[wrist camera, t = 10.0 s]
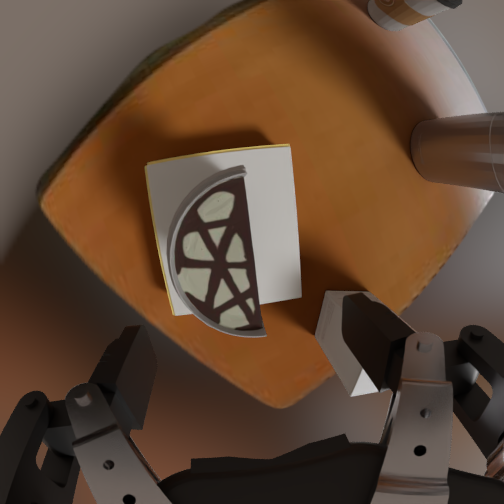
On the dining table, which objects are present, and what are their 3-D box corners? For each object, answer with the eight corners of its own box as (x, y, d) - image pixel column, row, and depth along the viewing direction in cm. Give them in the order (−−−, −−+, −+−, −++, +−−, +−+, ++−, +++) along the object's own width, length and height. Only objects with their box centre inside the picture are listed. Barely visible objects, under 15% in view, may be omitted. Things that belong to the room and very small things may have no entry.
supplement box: (312, 336, 36) (347, 398, 24) (325, 288, 34) (371, 341, 22) (357, 335, 37) (399, 388, 25) (371, 290, 35) (425, 336, 23)
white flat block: (280, 147, 29) (289, 143, 25) (292, 283, 33) (301, 297, 30) (153, 164, 28) (143, 163, 24) (177, 300, 32) (172, 316, 28)
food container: (171, 178, 25) (144, 179, 15) (235, 168, 25) (246, 163, 16) (193, 296, 28) (184, 353, 19) (251, 288, 29) (267, 342, 19)
